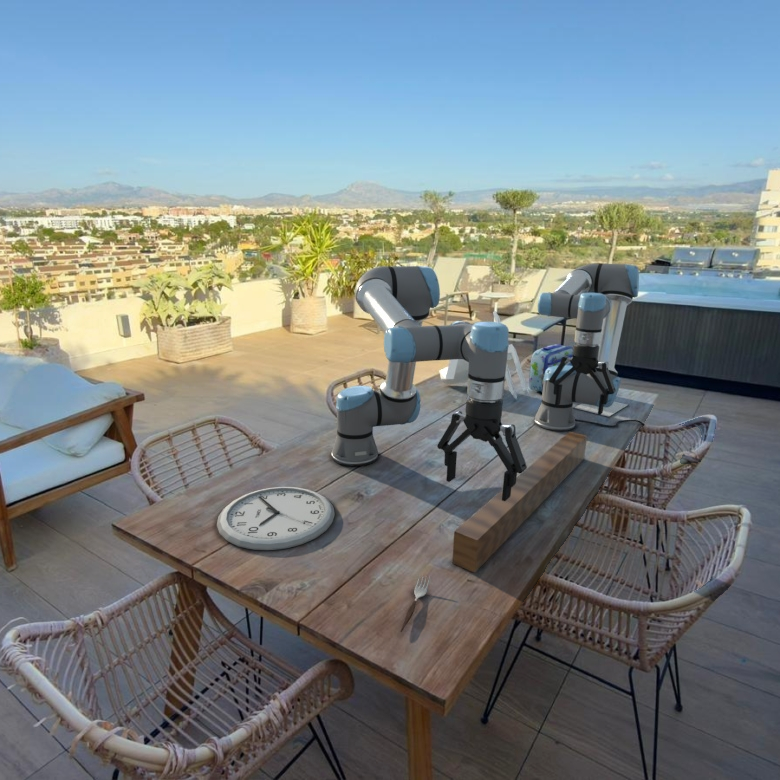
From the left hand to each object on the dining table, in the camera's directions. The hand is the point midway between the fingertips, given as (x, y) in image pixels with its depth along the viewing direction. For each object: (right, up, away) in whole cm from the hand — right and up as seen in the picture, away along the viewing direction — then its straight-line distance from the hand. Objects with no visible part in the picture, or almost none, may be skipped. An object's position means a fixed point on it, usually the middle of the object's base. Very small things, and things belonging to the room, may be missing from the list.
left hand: (477, 488), depth 115 cm
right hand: (+41, +16, +52) cm, 69 cm away
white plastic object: (+22, +21, +128) cm, 132 cm away
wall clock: (-49, -11, +21) cm, 55 cm away
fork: (-15, -22, -10) cm, 28 cm away
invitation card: (+72, +14, +111) cm, 133 cm away
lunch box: (+57, +22, +135) cm, 148 cm away
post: (+20, -9, +32) cm, 39 cm away
